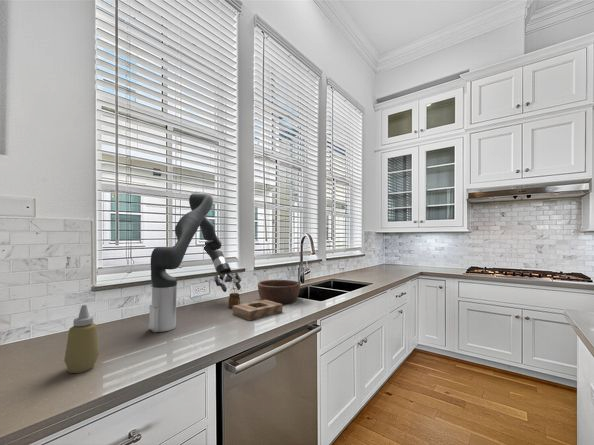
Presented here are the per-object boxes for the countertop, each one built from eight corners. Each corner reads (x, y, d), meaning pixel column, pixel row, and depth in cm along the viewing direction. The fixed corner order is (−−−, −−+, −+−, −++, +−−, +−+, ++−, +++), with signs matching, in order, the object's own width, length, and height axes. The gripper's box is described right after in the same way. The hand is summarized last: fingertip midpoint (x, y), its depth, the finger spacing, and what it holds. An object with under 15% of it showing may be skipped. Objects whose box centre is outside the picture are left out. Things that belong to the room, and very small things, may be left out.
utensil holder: (228, 308, 149) (229, 285, 150) (228, 305, 155) (228, 283, 156) (240, 308, 151) (240, 285, 151) (239, 305, 157) (239, 283, 158)
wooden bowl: (307, 299, 174) (307, 282, 174) (284, 308, 153) (284, 288, 153) (274, 294, 187) (274, 278, 188) (248, 301, 166) (248, 283, 167)
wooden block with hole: (249, 320, 130) (249, 311, 130) (232, 314, 140) (232, 305, 140) (282, 312, 144) (282, 304, 144) (264, 307, 154) (265, 299, 154)
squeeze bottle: (104, 362, 87) (107, 302, 87) (86, 375, 79) (88, 309, 79) (77, 362, 86) (79, 302, 87) (55, 375, 78) (58, 309, 79)
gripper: (213, 263, 156) (223, 287, 148) (235, 261, 166) (246, 284, 158) (207, 272, 160) (218, 296, 151) (230, 270, 170) (241, 292, 161)
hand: (232, 290), depth 155 cm, fingers open, 8 cm apart
